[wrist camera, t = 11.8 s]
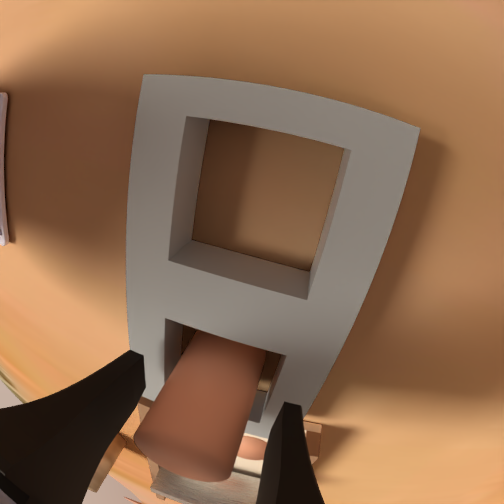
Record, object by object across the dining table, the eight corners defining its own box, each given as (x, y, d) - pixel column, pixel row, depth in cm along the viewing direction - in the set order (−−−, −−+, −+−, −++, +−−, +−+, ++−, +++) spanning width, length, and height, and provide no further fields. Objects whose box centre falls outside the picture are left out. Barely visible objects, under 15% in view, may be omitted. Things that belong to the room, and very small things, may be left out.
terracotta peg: (188, 316, 13) (119, 417, 7) (264, 323, 12) (224, 445, 7) (200, 370, 14) (150, 466, 9) (266, 379, 13) (236, 489, 8)
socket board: (173, 81, 9) (143, 74, 7) (400, 128, 8) (420, 128, 6) (151, 368, 15) (134, 392, 13) (293, 413, 14) (288, 443, 12)
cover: (168, 450, 17) (150, 487, 14) (267, 480, 16) (257, 520, 13) (171, 490, 21) (159, 516, 18) (242, 511, 21) (233, 539, 17)
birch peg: (90, 416, 20) (56, 463, 15) (123, 433, 20) (91, 485, 14) (97, 433, 22) (68, 477, 16) (128, 449, 21) (100, 496, 16)
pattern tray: (154, 375, 15) (137, 402, 13) (321, 424, 14) (318, 457, 12) (164, 482, 23) (157, 497, 21) (253, 509, 22) (248, 526, 20)
